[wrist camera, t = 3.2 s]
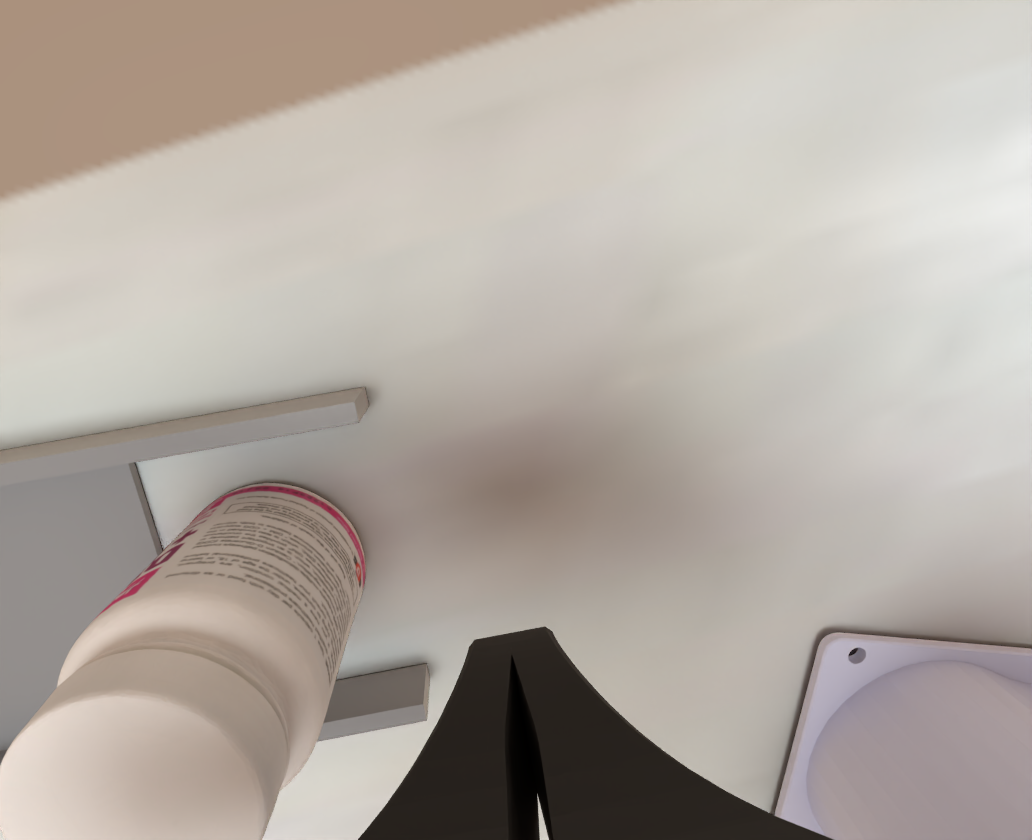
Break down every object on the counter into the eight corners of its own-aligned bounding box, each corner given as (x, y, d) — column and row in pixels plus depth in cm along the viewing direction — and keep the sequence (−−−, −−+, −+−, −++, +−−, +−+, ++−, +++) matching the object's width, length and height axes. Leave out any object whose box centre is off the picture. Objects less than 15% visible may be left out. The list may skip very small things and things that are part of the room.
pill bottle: (200, 460, 18) (-22, 639, 10) (384, 500, 18) (323, 701, 10) (172, 624, 19) (-51, 912, 11) (347, 656, 19) (265, 953, 11)
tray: (364, 386, 18) (354, 402, 16) (430, 678, 20) (427, 720, 18) (-244, 493, 17) (-324, 520, 15) (-109, 781, 19) (-166, 834, 17)
